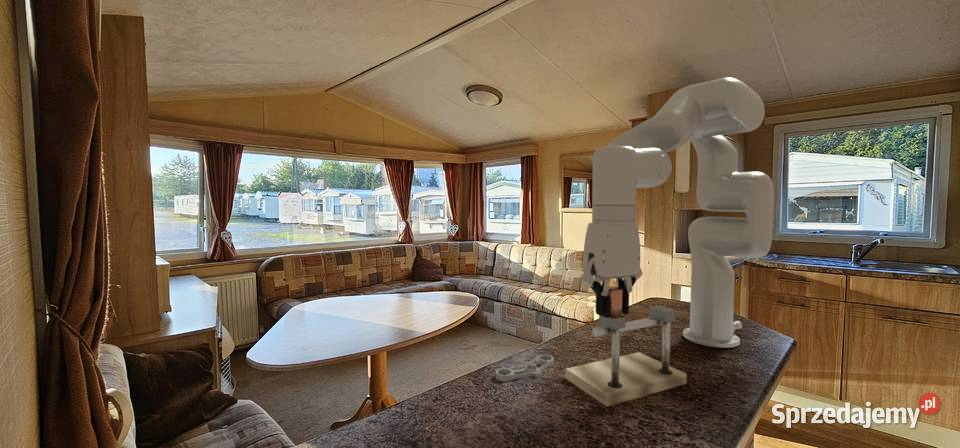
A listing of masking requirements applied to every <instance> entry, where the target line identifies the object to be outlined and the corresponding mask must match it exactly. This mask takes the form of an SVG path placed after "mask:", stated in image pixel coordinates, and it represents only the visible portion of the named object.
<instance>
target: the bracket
mask: <svg viewBox="0 0 960 448" xmlns="http://www.w3.org/2000/svg"><path fill="white" fill-rule="evenodd" d="M554 360H555V358H554V357H553V356H552V355H549V354H540V355H536V356H534V358H533V360H530V361H529V362H527V364H524V365H522V366H521V365H520V366H511V367H504V366H503V367H500V368H498V369H497V370H496V371H495V379H496V381H499V382H502V383H503V382H510V381H514V380H517V379H518V380H519V379H526V378H529V377H534V378H536V379H537V378H539V377H541V376H542V373H543V371H545V370H546V369H547V368H549V367H551V366H553V365H554V363H555V362H554ZM538 366H539V367H538Z"/></svg>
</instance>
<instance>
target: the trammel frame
mask: <svg viewBox="0 0 960 448" xmlns="http://www.w3.org/2000/svg"><path fill="white" fill-rule="evenodd" d="M676 313H677V311H676V309H674V308H670V307H666V306H664V305H656V306H650V307H649V317H646V318H641V319H635V320H630V321H626V324H625V328H620V333H622V332H627V331H632V330H637V329H638V330H639V329H643V328H649V327H652V326H653V327H654V326H660V325H662V326H661V327H662V328H661V329H662V330H661V332H662V335H661V337H662V338H661V363H662V368H661V371H662V372H664V373H669V366H670V362H671V361H670V360H671V358H670V353H671V322H672V321H676ZM592 335H593V336H595V337H601V336H607V335H612V329H610V328H607V327H605V326H603V325H601V326H597V327H592Z"/></svg>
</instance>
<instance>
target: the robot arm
mask: <svg viewBox="0 0 960 448" xmlns="http://www.w3.org/2000/svg"><path fill="white" fill-rule="evenodd" d="M765 113H766V111H765V105H764V102H763V99H762V98H761V96H760V95H759V94H758V93H757V92H756V91H754V90H753V89H752V88H751V87H749V86H748V85H747V84H746V83H744V82H743V81H741V80H738V79H737V78H733V77H721V78H717V79H714V80H713V79H712V80H709V81H704V82H698V83H694V84H690V85H686V86H685V87H682V88H680V89H678V90H677V91H676V92H674V93H673V94H672V95H671V97H670V98H669V99H668V100H667V101H666V102H665V103H664V105H663V106H662V107H661V108H660V109H659V110H658V111H657V112H656V113H655V115H654V116H652V117H651V118H648V119H646V120H645V121H643V122H641V123H639V124H638V125H635V126H634V127H632V128H631V129H628V130H627V131H624V132H622V133H621V134H619V135H618V136H617V137H615V138H614V139H612V141H610V142H609V143H608V144H607V145H606V146H602V147H599V148H596V149H595V151H594V152H593V155H592V188H591V189H592V199H591V200H592V203H591V205H592V206H591V207H592V209H591V214H592V215H591V219H592V220H591V222H588V224H587V228H586V233H585V237H584V238H585V239H584V244H583V245H584V246H583V256H582V270H583V271H582V272H583V273H582V275H581V276H580V277H581V278H580V280H581V282H583V283H585V284H586V285H588V286H589V288H591V290H592V293H594V294H595V314H596V315H598V316H599V315H600V316H603V317H606V318H609V317H610V316H611V297H610V296H609V295H608V291H609V286H610V283H611V279H615V287H620V288H622V289H623V315H624V316H626V315H629V313H630V294H631V293H632V291H633V286H634V285H635V283H636V282H637V281H638V280H639V278H641V277H642V276H643V270H642V268H641V241H640V232H639V227H638V222H637V219H636V218H637V217H636V216H637V215H638V209H637V205H636V204H637V189H644V188H645V189H647V188H655V187H658V186H661V185H663V184H664V183H666V182H667V181H668V179H669V178H670V175H671V173H672V168H673V167H672V166H673V165H672V161H671V158H670V156H669V155H668V152H672V151H674V150H676V149H679V148H680V147H682V146H683V145H685V144H686V143H687V141H688V140H689V141H690V142H691V144H692V146H693V148H694V150H695V151H696V156H697V177H696V202H697V204H698V207H700V208H701V209H702V210H705V211H710V212H728V213H729V212H734V213H736V212H741V213H745V216H746V217H731V216H703V217H698V218H696V219H694V220H693V221H692V222H691V223H690V224H689V226H688V229H687V237H688V244H689V250H690V258H691V259H690V260H691V262H690V263H691V264H690V265H691V275H690V278H691V279H690V304H689V305H690V306H689V307H690V311H689V313H690V314H689V327H686V328H684V329H683V331H682V336H683V338H685V339H686V340H687V341H690V342H691V343H694V344H698V345H701V346H705V347H711V348H717V349H719V348H720V349H729V348H736V347H738V346H739V345H740V344H741V338H740V337H739V336H737V335H736V334H735V331H736V330H739V329H742V328H743V323H742V322H741V321H739V320H736V321H734V308H735V307H734V306H735V302H734V300H735V282H736V281H735V280H736V276H735V275H736V274H735V271H734V268H733V267H732V265H731V263H730V261H729V260H728V259H727V257H737V258H738V257H739V258H748V259H749V258H750V259H759V258H764V257H765V256H767V255H768V253H770V250H771V246H772V240H773V229H774V227H773V224H774V223H773V222H774V205H775V204H774V203H775V189H774V185H773V181H772V179H771V177H770V176H769V175H768V174H766V173H764V172H761V171H741V172H740V171H738V151H737V149H736V147H735V146H734V145H733V144H732V142H731V141H730V140H729V139H728V138H726V135H733V134H734V135H735V134H742V133H743V134H744V133H748V132H752V131H755V130H756V129H758V128H759V127H760V126H761V124H762V123H763V122H764V118H765Z"/></svg>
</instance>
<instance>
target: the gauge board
mask: <svg viewBox="0 0 960 448" xmlns="http://www.w3.org/2000/svg"><path fill="white" fill-rule="evenodd" d="M661 368H662V361H660V360H657V359H655V358H652V357H651V356H648V355H646V354H644V353H642V352H639V351H638V352H634V353H629V354H625V355H620V360H619V384H618V385H614V384H612V383H611V358H607V359H602V360H598V361H593V362H589V363H588V362H587V363H584V364H580V365H576V366H572V367H567V368H565V377H564V378H565V379H566V380H567V381H568V382H571V384H573V385H575V387H578V388H579V389H581V390H582V391H583V392H585V393H587V394H588V395H589V396H591V397H592V398H593V399H595V400H597V401H598V402H600V403H601V404H602V405H604V406H605V407H611V406H614V405H618V404H621V403H624V402H627V401H631V400H635V399H638V398H642V397H645V396H649V395H652V394H655V393H659V392H662V391H665V390H670V389H673V388H677V387H680V386H684V385H687V373H686V372H684V371H681V370H680V369H677V368H674V367H673V366H670V365H669V373H664V372H662V371H661Z"/></svg>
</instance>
